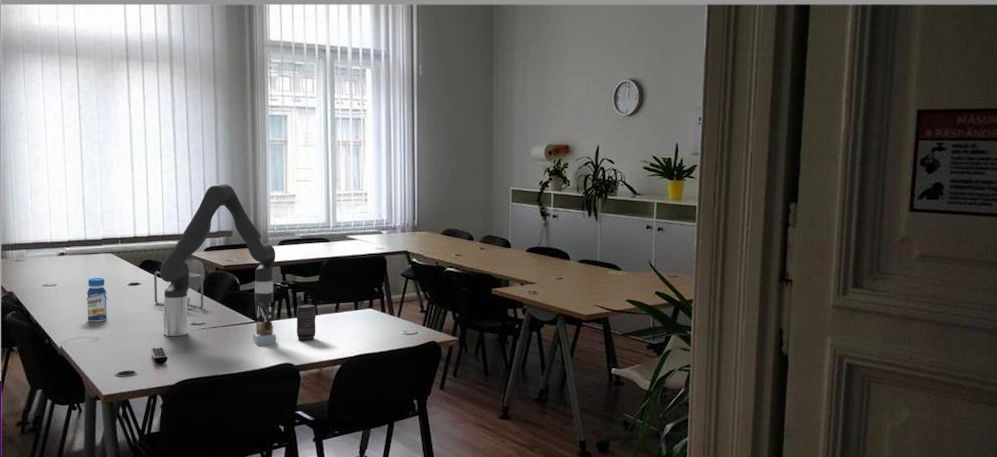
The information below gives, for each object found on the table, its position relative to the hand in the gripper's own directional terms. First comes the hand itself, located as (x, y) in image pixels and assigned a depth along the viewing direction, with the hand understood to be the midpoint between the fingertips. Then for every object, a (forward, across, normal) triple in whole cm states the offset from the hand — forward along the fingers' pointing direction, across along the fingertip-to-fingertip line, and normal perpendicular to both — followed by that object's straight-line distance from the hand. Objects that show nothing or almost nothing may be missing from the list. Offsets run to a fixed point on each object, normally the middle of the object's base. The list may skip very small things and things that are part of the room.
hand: (264, 328), depth 342 cm
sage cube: (+6, -10, +4) cm, 12 cm away
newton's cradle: (+6, -100, -8) cm, 100 cm away
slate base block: (+6, 0, 0) cm, 6 cm away
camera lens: (+6, +5, +17) cm, 19 cm away
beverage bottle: (+6, -84, -50) cm, 98 cm away
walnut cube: (+3, 0, 0) cm, 3 cm away
